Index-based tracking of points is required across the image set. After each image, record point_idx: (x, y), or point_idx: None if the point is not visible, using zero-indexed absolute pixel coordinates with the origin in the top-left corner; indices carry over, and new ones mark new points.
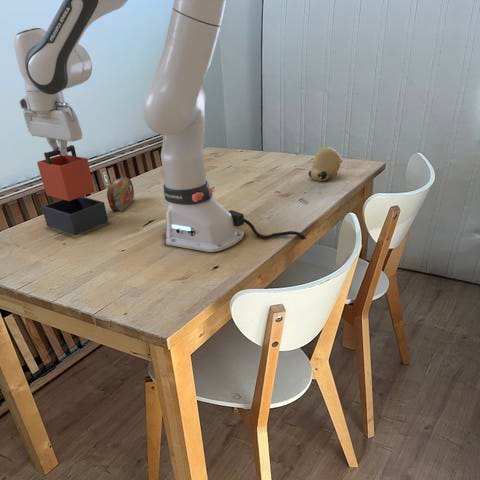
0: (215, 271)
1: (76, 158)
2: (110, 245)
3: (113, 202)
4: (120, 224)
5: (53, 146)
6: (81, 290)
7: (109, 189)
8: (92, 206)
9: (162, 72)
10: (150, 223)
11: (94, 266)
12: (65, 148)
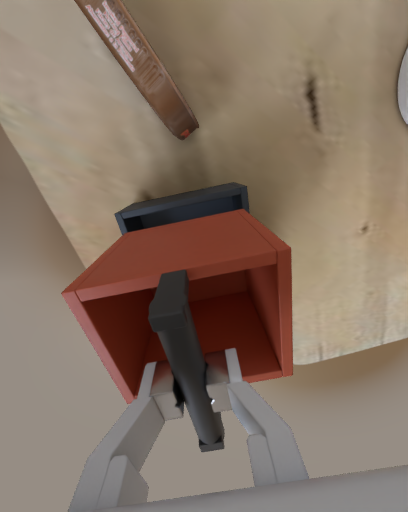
0: None
1: (205, 275)
2: (326, 233)
3: (194, 129)
4: (258, 163)
5: (154, 429)
6: (394, 318)
7: (168, 112)
8: None
9: None
10: (318, 102)
11: (361, 284)
12: (247, 387)
